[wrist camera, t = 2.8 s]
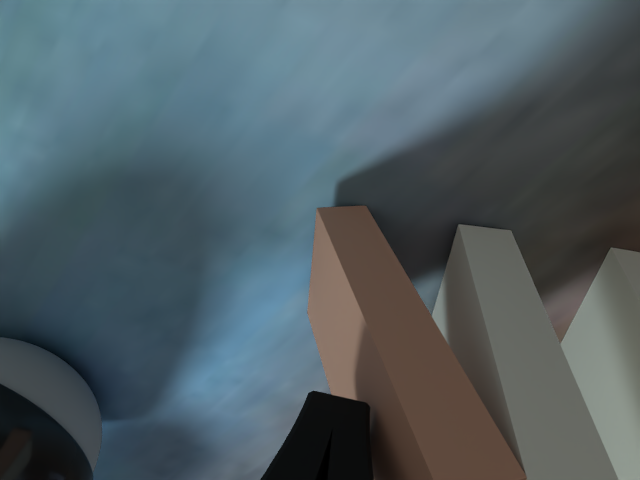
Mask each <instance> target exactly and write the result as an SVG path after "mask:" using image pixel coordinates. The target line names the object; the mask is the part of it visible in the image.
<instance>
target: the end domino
mask: <svg viewBox="0 0 640 480" xmlns="http://www.w3.org/2000/svg"><path fill="white" fill-rule="evenodd" d="M307 313H308V317H309V320H310V323H311V327H312V330H313V333H314V337H315V340H316V344H317V347H318V350H319V354H320V357H321V360H322V364H323V367H324V371H325V374H326V377H327V381H328V384H329V387H330V391H331V394H332V395H335V396H340V397H344V398H349V399H353V400H358V401H362V402H366V403H367V404H368V405H369V406H370V444H371V456H372V466H373V474H374V480H526V479H527V477H526V475H525V473H524V471H523V470H522V468H521V466H520V465H519V463H518V461H517V460H516V458H515V456H514V455H513V453H512V451H511V450H510V448H509V446H508V444H507V443H506V441H505V439H504V438H503V436H502V434H501V433H500V431H499V429H498V428H497V426H496V424H495V423H494V421H493V419H492V417H491V416H490V414H489V412H488V411H487V409H486V407H485V406H484V404H483V402H482V401H481V399H480V397H479V396H478V394H477V392H476V390H475V389H474V387H473V385H472V384H471V382H470V380H469V379H468V377H467V375H466V374H465V372H464V370H463V369H462V367H461V365H460V363H459V362H458V360H457V358H456V357H455V355H454V353H453V352H452V350H451V348H450V347H449V345H448V343H447V342H446V340H445V338H444V336H443V335H442V333H441V331H440V330H439V328H438V326H437V325H436V323H435V321H434V320H433V318H432V316H431V315H430V313H429V311H428V309H427V308H426V306H425V304H424V303H423V301H422V299H421V298H420V296H419V294H418V293H417V291H416V289H415V288H414V286H413V284H412V282H411V281H410V279H409V277H408V276H407V274H406V272H405V271H404V269H403V267H402V266H401V264H400V262H399V261H398V259H397V257H396V255H395V254H394V252H393V250H392V249H391V247H390V245H389V244H388V242H387V240H386V239H385V237H384V235H383V234H382V232H381V230H380V228H379V227H378V225H377V223H376V222H375V220H374V218H373V217H372V215H371V213H370V212H369V210H368V208H367V207H366V206H344V207H323V208H317V211H316V222H315V233H314V244H313V256H312V267H311V278H310V289H309V300H308V311H307Z"/></svg>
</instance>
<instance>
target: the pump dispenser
mask: <svg viewBox="0 0 640 480" xmlns="http://www.w3.org/2000/svg"><path fill="white" fill-rule="evenodd" d="M101 442H102V420H101V414H100V410H99V406H98V404H97V401H96V398H95V396H94V394H93V393H92V391H91V389H90V388H89V386H88V385H87V383H86V382H85V381H84V379H83V378H82V377H81V376H80V375H79V374H78V373H77V372H76V371H75V370H74V369H73V368H72V367H71V366H70V365H69V364H67V363H66V362H65V361H63V360H62V359H60V358H59V357H57V356H56V355H54V354H52V353H51V352H49V351H47V350H45V349H43V348H40V347H38V346H36V345H33V344H30V343H27V342H24V341H20V340H15V339H10V338H3V337H0V480H93V471H94V469H95V466H96V463H97V460H98V456H99V452H100V448H101Z"/></svg>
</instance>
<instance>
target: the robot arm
mask: <svg viewBox="0 0 640 480" xmlns="http://www.w3.org/2000/svg"><path fill="white" fill-rule="evenodd" d="M261 480H374V474H373V466H372V456H371V444H370V406H369V405H368V404H367V403H366V402H362V401H358V400H353V399H349V398H344V397H340V396H335V395H331V394H326V393H322V392H317V391H312V392H310V393H308V396H307V398H306V401H305V403H304V405H303V408H302V410H301V412H300V414H299V416H298V418H297V420H296V422H295V424H294V426H293V427H292V429H291V431H290V433H289V434H288V436H287V438H286V440H285V441H284V443H283V445H282V447H281V448H280V450H279V451H278V453H277V455H276V456H275V458H274V459H273V461H272V462H271V464H270V466H269V467H268V469H267V470H266V472H265V474H264V475H263V477H262V478H261Z"/></svg>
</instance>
